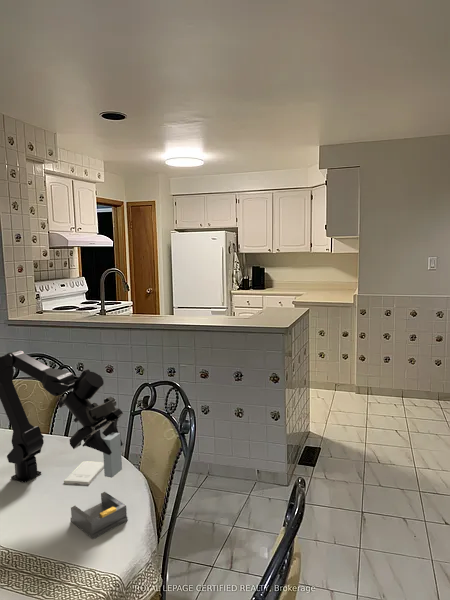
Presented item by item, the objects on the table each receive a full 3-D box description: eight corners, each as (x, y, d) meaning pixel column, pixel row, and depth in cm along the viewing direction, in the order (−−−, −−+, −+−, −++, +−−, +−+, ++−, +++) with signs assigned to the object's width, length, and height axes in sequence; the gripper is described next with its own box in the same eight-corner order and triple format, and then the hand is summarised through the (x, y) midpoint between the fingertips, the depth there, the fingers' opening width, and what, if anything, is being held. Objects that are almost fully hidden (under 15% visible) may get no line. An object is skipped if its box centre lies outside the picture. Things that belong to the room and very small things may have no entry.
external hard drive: (106, 466, 146) (89, 486, 134) (82, 465, 147) (63, 485, 135) (106, 462, 146) (88, 481, 134) (82, 460, 147) (63, 479, 135)
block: (104, 476, 126) (102, 439, 124) (114, 468, 130) (112, 432, 129) (112, 477, 125) (109, 440, 124) (122, 469, 129) (120, 433, 128)
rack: (70, 521, 116) (69, 504, 115) (104, 504, 123) (103, 488, 122) (93, 539, 108) (91, 521, 107) (127, 520, 115) (126, 503, 115)
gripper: (75, 401, 118) (113, 447, 115) (116, 381, 135) (149, 420, 132) (53, 427, 121) (89, 471, 119) (96, 404, 139) (128, 442, 136)
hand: (116, 449), depth 126 cm, fingers closed on block, 5 cm apart
